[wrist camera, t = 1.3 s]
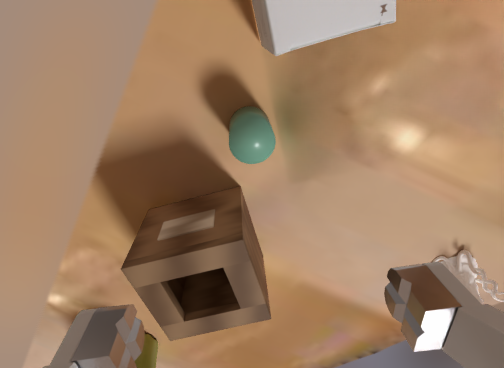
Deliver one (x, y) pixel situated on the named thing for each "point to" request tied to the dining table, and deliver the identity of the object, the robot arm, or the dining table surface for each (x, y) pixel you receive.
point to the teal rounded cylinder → (251, 135)
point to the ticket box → (199, 265)
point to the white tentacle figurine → (469, 274)
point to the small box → (316, 20)
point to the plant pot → (148, 353)
